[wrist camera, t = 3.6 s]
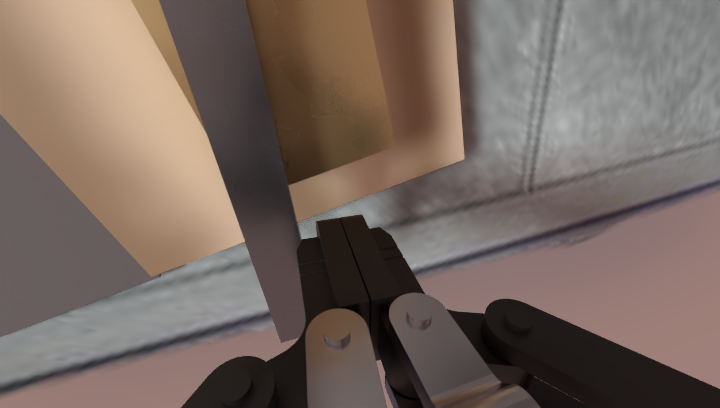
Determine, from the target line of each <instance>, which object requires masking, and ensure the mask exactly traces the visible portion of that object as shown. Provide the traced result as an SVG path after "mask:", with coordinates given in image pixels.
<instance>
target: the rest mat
mask: <svg viewBox="0 0 720 408" xmlns="http://www.w3.org/2000/svg"><path fill="white" fill-rule="evenodd" d="M161 274H162V273H161ZM161 274H158V275H155V276H153V277H151V276H150V275H149V274H148V273H147V272H146V271H145V270H144V268H143V267H142V266H141V265H140V264H139V263H138V262H137V261H136V260H135V259H134V258H133V257H132V256H131V254H130V253H129V252H128V251H127V250H126V249H125V248H124V247H123V246H122V245H121V244H120V243H119V242H118V240H117V239H116V238H115V237H114V236H113V235H112V234H111V233H110V232H109V231H108V230H107V229H106V228H105V226H104V225H103V224H102V223H101V222H100V221H99V220H98V219H97V218H96V217H95V216H94V215H93V214H92V212H91V211H90V210H89V209H88V208H87V207H86V206H85V205H84V204H83V203H82V202H81V201H80V200H79V198H78V197H77V196H76V195H75V194H74V193H73V192H72V191H71V190H70V189H69V188H68V187H67V186H66V184H65V183H64V182H63V181H62V180H61V179H60V178H59V177H58V176H57V175H56V174H55V173H54V171H53V170H52V169H51V168H50V167H49V166H48V165H47V164H46V163H45V162H44V161H43V160H42V159H41V157H40V156H39V155H38V154H37V153H36V152H35V151H34V150H33V149H32V148H31V147H30V146H29V145H28V143H27V142H26V141H25V140H24V139H23V138H22V137H21V136H20V135H19V134H18V133H17V132H16V131H15V129H14V128H13V127H12V126H11V125H10V124H9V123H8V122H7V121H6V120H5V119H4V118H3V117H2V115H1V114H0V337H2V336H4V335H7V334H10V333H12V332H15V331H18V330H20V329H23V328H26V327H28V326H31V325H34V324H36V323H39V322H41V321H44V320H47V319H49V318H52V317H55V316H57V315H60V314H63V313H65V312H68V311H71V310H73V309H76V308H79V307H81V306H84V305H87V304H89V303H92V302H95V301H97V300H100V299H102V298H105V297H108V296H110V295H113V294H116V293H118V292H121V291H124V290H126V289H129V288H132V287H134V286H137V285H140V284H142V283H145V282H148V281H150V280H153V279H156V278H158V277H160V276H161Z"/></svg>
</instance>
